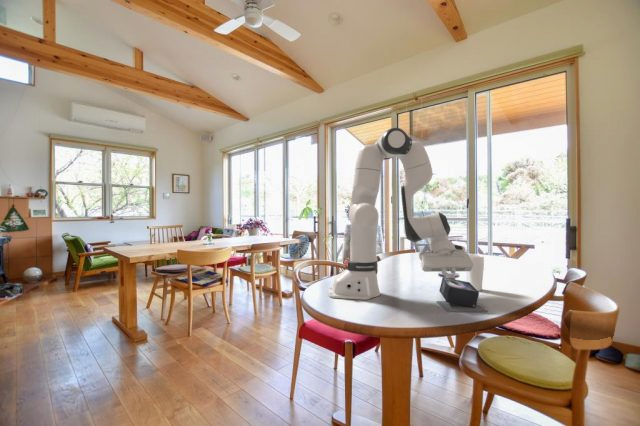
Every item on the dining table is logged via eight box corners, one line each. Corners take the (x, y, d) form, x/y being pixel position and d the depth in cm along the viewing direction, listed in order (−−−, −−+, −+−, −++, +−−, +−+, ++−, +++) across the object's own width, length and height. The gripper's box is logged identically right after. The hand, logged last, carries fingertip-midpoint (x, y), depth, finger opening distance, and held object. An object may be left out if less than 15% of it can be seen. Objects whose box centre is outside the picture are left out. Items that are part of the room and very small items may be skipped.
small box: (470, 281, 118) (480, 291, 108) (466, 296, 119) (476, 308, 109) (442, 276, 120) (449, 286, 109) (438, 291, 121) (446, 302, 110)
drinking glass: (483, 292, 130) (483, 257, 130) (465, 290, 134) (465, 256, 133) (484, 288, 136) (484, 255, 136) (467, 287, 139) (467, 254, 139)
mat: (447, 312, 107) (447, 310, 107) (436, 302, 118) (436, 301, 118) (488, 312, 106) (488, 310, 106) (473, 302, 117) (473, 301, 117)
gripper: (419, 247, 129) (426, 275, 119) (468, 246, 128) (479, 274, 118) (416, 255, 133) (423, 283, 124) (463, 255, 133) (474, 283, 123)
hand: (451, 279), depth 121 cm, fingers closed
